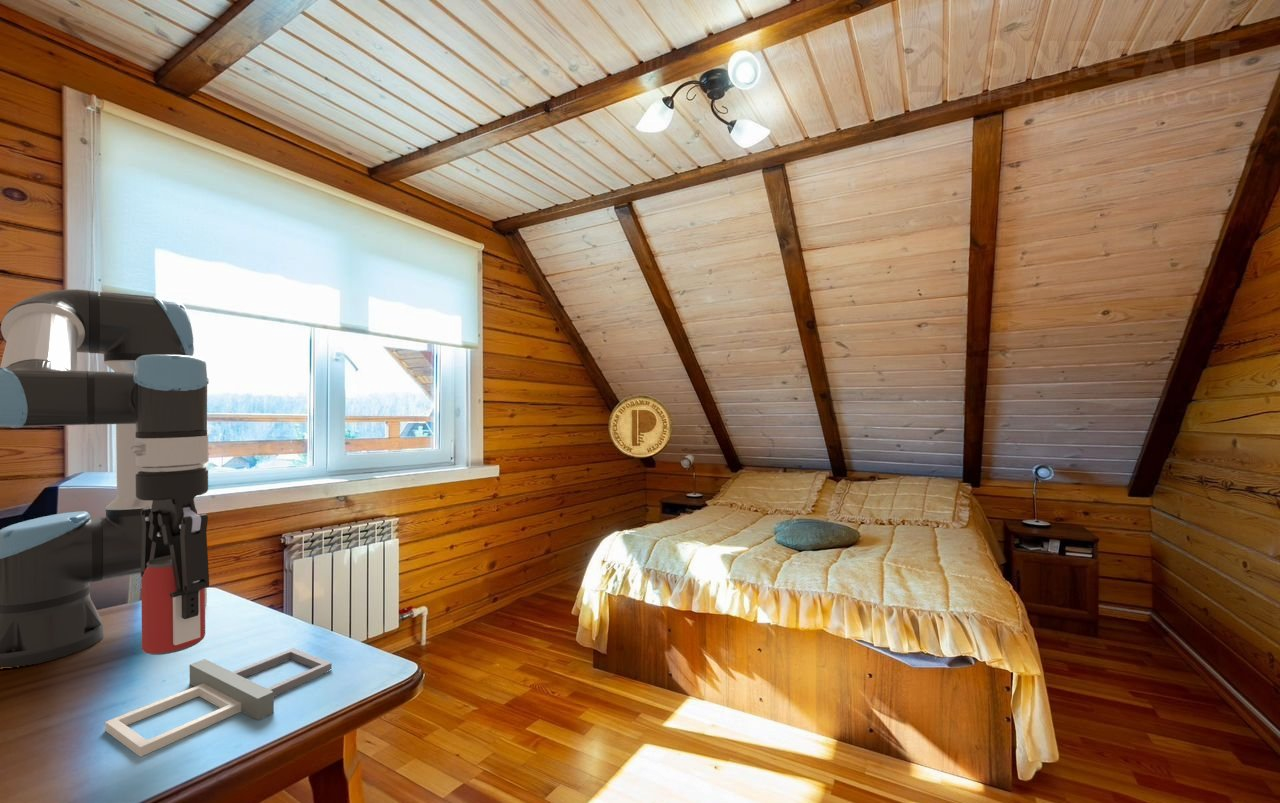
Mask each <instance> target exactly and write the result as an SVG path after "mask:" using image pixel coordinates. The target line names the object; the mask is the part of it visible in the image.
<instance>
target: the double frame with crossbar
mask: <svg viewBox="0 0 1280 803" xmlns="http://www.w3.org/2000/svg"><path fill="white" fill-rule="evenodd" d="M292 659H293V661H295V662H297V663H299V662H300V664H302V665H305V666H307V667H309V668H310V669H307V670H306V671H303V672H301V673H298V674H296V675H294V676H291V677H290V678H287V679H285V680H283V681H280V682H278V683H275V684H273V685H271V686H269V687H265V686H263V685H261V684H258V683H256V682H254V681H252V680H250V679H248V678H247V677H249V676H252V675H254V674H257V673H260V672H262V671H265V670H267V669H269V668H271V667H274V666H277V665H279V664H282V663H284V662H286V660H287V661H289V660H292ZM332 664H333V663H332V662H330V661H327V660H325V659H323V658H319V657H317V656H314V655H312V654H309V653H307V652H305V651H303V650H302V651H301V650H300V649H296V648H294V647H292V648H289V649H287V650H286V651H282V652H280V653H278V654H275V655H272V656H270V657H267V658H264V659H262V660H259V661H258V662H254V663H252V664H249V665H247V666H244V667H242V668H240V669H237V670H234V671H231V670H229V669H227V668H225V667H222V666H221V665H218V664H216V663H214V662H212V661H210V660H208V659H205V658H204V659H201V660H198V661H195V662H192V663H190V664H189V685H192V686H193V687H191V688H188V689H186V690H183V691H181V692H178V693H175V694H173V695H170V696H168V697H165V698H162V699H160V700H157V701H155V702H152V703H150V704H147V705H145V706H142V707H140V708H139V707H138V708H137V709H134V710H132V711H129V712H127V713H124V714H122V715H120V716H117V717H113V718H112V719H109V720H106V721H104V723H105V725H104V726H105V727H104V730H105V732H107V733H108V734H109V735H111V736H112V737H113V738H114V739H116V740H117V741H118V742H119V743H121V744H122V745H124V746H125V747H126V748H128V749H129V750H130V751H132V753H133V752H134V754H136V755H137V756H138V757H140V758H141V757H143V756H146V755H148V754H150V753H153V752H154V751H157V750H159V749H161V748H164V747H165V746H168V745H170V744H172V743H174V742H177V741H179V740H181V739H183V738H186V737H188V736H190V735H192V734H194V733H196V732H199V731H201V730H203V729H205V728H208V727H210V726H212V725H214V724H216V723H218V722H221V721H223V720H225V719H229V717H231V716H235V715H236V714H238V713H240V712H241V713H244V714H245V715H247V716H249V717H251V718H253V719H255V720H257V721H260V720H262V719H264V718H266V717H268V716H270V715H272V714H275V710H274V709H275V707H274V704H275V703H274V702H275V700H274V699H275V697H276V696H278V695H280V694H282V693H284V692H287V691H289V690H292V689H294V688H296V687H298V686H300V685H302V684H303V685H304V683H307V682H308V681H311V680H314V679H316V678H319V677H320V676H322V675H324V674H323V673H325V672H327V671H329V670H330V669H332V667H333V666H332ZM329 672H330V671H329ZM327 673H328V672H327ZM325 674H326V673H325ZM197 697H199V698H201V699H203V700H205V701H207V702H209V703H211V704H213V705H214V706H216V707H218V709H216V710H214V711H211V712H209V713H207V714H205V715H202V716H200V717H198V718H195V719H194V720H193V719H192V720H190V721H188V722H186V723H184V724H182V725H179V726H177V727H174V728H172V729H170V730H168V731H165V732H164V733H161V734H159V735H156V736H154V737H152V738H149V739H146V738H144V737H143V736H141V735H140V734H139V733H138V732H136V731H135V730H133V729H132V728H131V727H129V725H132V724H134V723H137V722H138V721H141V720H144V719H146V718H149V717H150V716H151V717H152V716H153V715H156V714H158V713H161V712H163V711H165V710H169V709H171V708H173V707H176V706H178V705H180V704H183V703H186V702H188V701H191V700H192V699H193V700H194V699H195V698H197Z"/></svg>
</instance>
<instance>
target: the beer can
mask: <svg viewBox="0 0 1280 803" xmlns="http://www.w3.org/2000/svg"><path fill="white" fill-rule="evenodd" d="M146 565H147V567H146V569H145V572H144V574H143V576H142V577H141V580H140V584H141V587H140V589H141V590H140V592H141V594H140V595H141V598H140V600H141V603H140V604H141V649H142V651H143V653H145V654H148V655H154V656H161V655H169V654H174V653H177V652H181V651H184V650H187V649H191V648H192V647H194V646H196V645H198V644H199V643H200V642H201V641H203V640H204V638H205V636H206V605H205V588H203V589H202V590H200V638H197V639H194V640H191V641H188V642H184V643H181V644H178V645H174V644H173V598H171V597H170V593H173V592H176V585H175V578H174V572H173V566H172V560H171V555H168V556H163V557H159V558H156V559H152V560H150V561H148V562H147V564H146ZM193 582H194V581H193Z"/></svg>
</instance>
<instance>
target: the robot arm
mask: <svg viewBox="0 0 1280 803" xmlns="http://www.w3.org/2000/svg"><path fill="white" fill-rule="evenodd" d="M187 310H188V309H187V308H186V307H185V305H184V304H183V303H181V302H180V301H178V300H176V299H171V298H164V297H157V296H154V295H151V296H150V295H139V294H130V293H129V294H128V293H115V292H106V291H105V292H104V291H94V290H87V289H60V290H53V291H48V292H43V293H40V294H36V295H34V296H33V295H32V296H30V297H27V298H25V299H23V300H20V301H19V302H17V303H15V304H14V305H12V306H11V307H10V308H9V309H8V310H7V311H6V312H5V314H3V315H4V316H3V317H2V319H1V324H0V332H1V335H2V337H3V340H5V341H6V342H5V347H4V350H3V354H2V359H1V362H0V428H6V427H7V428H11V429H20V428H27V427H28V428H29V427H33V428H34V427H36V428H37V427H55V426H57V427H59V426H60V427H61V426H88V425H90V426H91V425H94V426H95V425H96V426H97V425H115V431H116V432H115V438H116V443H115V444H116V446H115V448H116V451H115V452H116V454H115V455H116V497H115V499H113V500H112V501H111V502H110V503H108V505H106V507H105V516H103V517H95V518H91V515H90V513H89V512H88V511H81V510H77V511H73V512H72V511H71V512H62V513H56V514H50V515H47V516H45V515H44V516H40V517H37V518H33V519H27V520H23V521H21V522H17V523H14V524H10V525H8V526H6V527H5V526H4V527H2V528H1V529H0V668H1V667H17V666H23V667H26V666H25V665H29V666H32V665H31V664H34V665H37V664H43V663H46V662H49V661H53V660H56V659H60V658H63V657H67V656H70V655H72V654H74V653H77V652H81V651H83V650H85V649H88V648H89V647H91V646H93V645H96V644H97V643H98V642H100V641H101V640H102V639H103V638H104V633H105V632H104V629H105V628H104V621H103V620H102V618H101V616H100V614H99V612H98V610H97V608H96V606H95V603H94V602H93V600H92V599H91V592H90V591H91V586H90V585H91V584H90V583H94V582H101V581H106V580H111V579H117V578H122V577H127V576H129V577H130V576H134V575H139V574H140V577H141V578H142V576H143V574H144V572H145V569H146V567H147V565H146V564H147V562H148V561H150V560H152V559H156V558H159V557H163V556H168V555H171V560H172V566H173V572H174V578H175V585H176V592H173V593H170V597H171V598H173V644H174V645H178V644H181V643H184V642H188V641H191V640H194V639H197V638H200V590H202V589H203V588H207V589H208V588H209V587H210V574H209V573H210V572H209V557H208V540H207V539H208V538H207V530H208V521H209V517H208V514H207V513H202V514H201V513H200V514H198V511H197V508H196V503H195V498H196V497H197V496H201V495H204V494H206V493H207V492H208V491H209V469H208V468H207V467H205V466H204V464H207V463H208V462H209V435H208V384H209V383H210V381H209V378H208V374H207V372H208V371H207V363H206V361H205V360H204V359H203V358H201V357H199V356H193V355H194V353H195V347H194V346H195V345H194V333H193V328H192V323H191V320H190V316H189V313H188V311H187ZM78 353H85V354H87V353H89V354H99V355H100V354H101V355H103V363H104V365H106V366H107V367H108V368H109V369H111V370H112V371H95V370H94V371H91V370H78ZM193 581H194V582H193ZM17 668H18V667H17Z"/></svg>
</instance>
